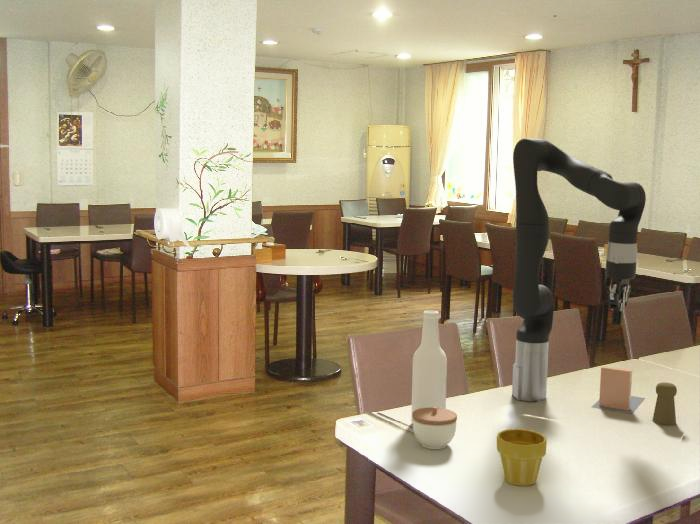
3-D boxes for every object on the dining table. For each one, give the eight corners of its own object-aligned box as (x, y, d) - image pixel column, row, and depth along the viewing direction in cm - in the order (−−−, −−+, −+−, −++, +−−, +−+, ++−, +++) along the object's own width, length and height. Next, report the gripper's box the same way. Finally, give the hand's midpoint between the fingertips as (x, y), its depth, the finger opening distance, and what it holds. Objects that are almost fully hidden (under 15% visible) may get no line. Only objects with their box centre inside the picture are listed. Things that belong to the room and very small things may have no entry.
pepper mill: (678, 428, 203) (681, 387, 202) (654, 426, 204) (656, 385, 203) (673, 421, 209) (676, 381, 208) (650, 419, 210) (652, 379, 209)
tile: (628, 410, 216) (630, 371, 215) (599, 405, 220) (601, 367, 219) (630, 408, 218) (632, 369, 217) (601, 403, 222) (603, 365, 221)
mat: (631, 415, 213) (631, 413, 213) (591, 408, 219) (591, 407, 219) (645, 399, 228) (645, 398, 228) (606, 393, 234) (606, 392, 234)
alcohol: (407, 427, 201) (409, 313, 197) (416, 417, 209) (418, 307, 205) (440, 432, 198) (443, 315, 194) (448, 421, 206) (451, 309, 202)
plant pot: (500, 489, 162) (502, 444, 161) (491, 470, 173) (492, 428, 171) (550, 490, 162) (552, 445, 161) (538, 471, 173) (539, 428, 171)
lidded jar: (403, 440, 191) (404, 403, 190) (441, 435, 195) (443, 398, 194) (424, 455, 181) (426, 416, 180) (464, 449, 186) (465, 411, 184)
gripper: (615, 255, 210) (610, 317, 213) (598, 261, 200) (594, 326, 202) (643, 257, 206) (638, 321, 209) (628, 264, 195) (623, 331, 198)
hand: (616, 324), depth 206 cm, fingers closed
